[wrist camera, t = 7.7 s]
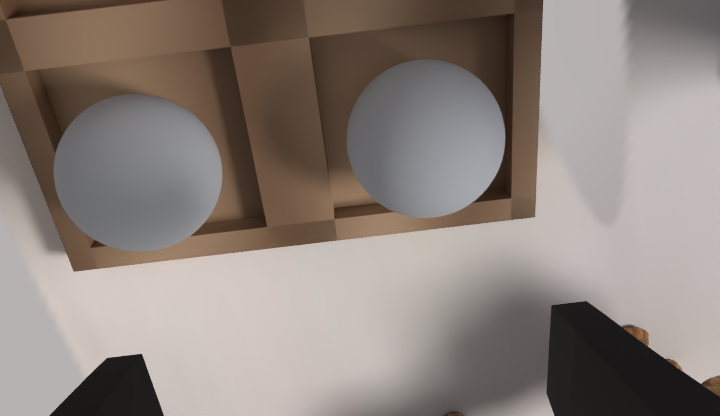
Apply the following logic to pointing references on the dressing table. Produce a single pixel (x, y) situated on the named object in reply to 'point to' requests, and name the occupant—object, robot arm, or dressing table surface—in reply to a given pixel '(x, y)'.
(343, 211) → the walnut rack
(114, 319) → the dressing table surface
